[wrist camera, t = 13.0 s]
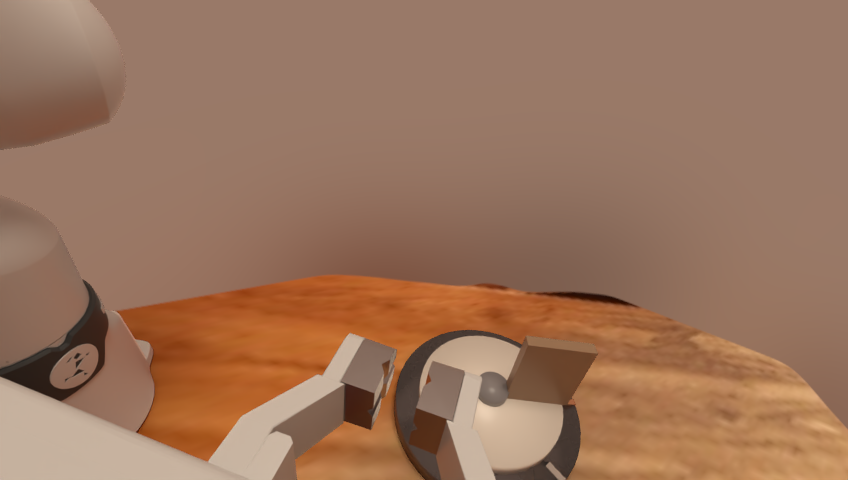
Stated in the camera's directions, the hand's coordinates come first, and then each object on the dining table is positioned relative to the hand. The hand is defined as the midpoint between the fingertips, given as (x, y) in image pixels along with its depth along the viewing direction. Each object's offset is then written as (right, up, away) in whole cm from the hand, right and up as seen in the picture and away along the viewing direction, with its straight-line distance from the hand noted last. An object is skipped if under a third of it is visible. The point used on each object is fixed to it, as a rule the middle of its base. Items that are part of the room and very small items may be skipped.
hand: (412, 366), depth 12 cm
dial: (+8, -14, +33) cm, 37 cm away
